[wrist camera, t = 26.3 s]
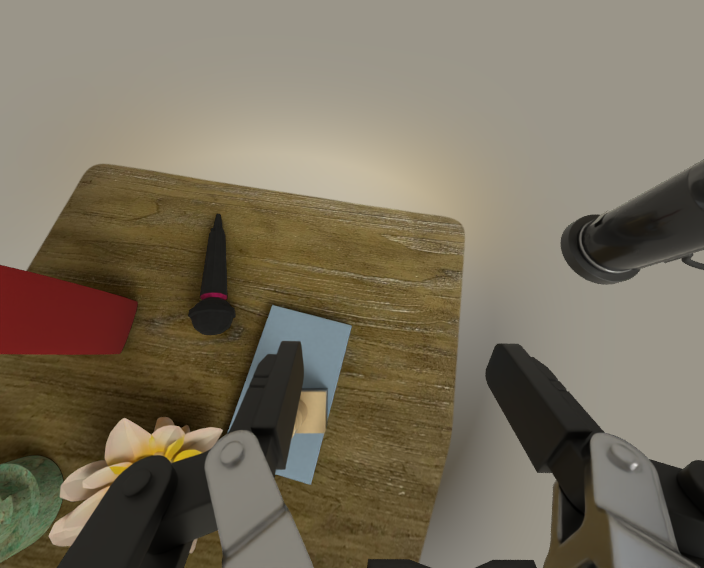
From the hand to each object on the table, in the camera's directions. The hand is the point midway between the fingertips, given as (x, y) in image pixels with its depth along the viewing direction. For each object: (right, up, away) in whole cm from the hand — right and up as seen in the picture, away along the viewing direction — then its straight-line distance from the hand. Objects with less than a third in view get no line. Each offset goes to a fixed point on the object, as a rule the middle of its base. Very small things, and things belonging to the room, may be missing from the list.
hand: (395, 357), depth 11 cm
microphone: (-21, +5, +29) cm, 36 cm away
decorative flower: (-24, -22, +22) cm, 39 cm away
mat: (-10, -11, +24) cm, 29 cm away
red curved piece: (-39, -3, +27) cm, 47 cm away
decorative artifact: (-43, -24, +21) cm, 53 cm away
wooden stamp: (-8, -13, +23) cm, 27 cm away
